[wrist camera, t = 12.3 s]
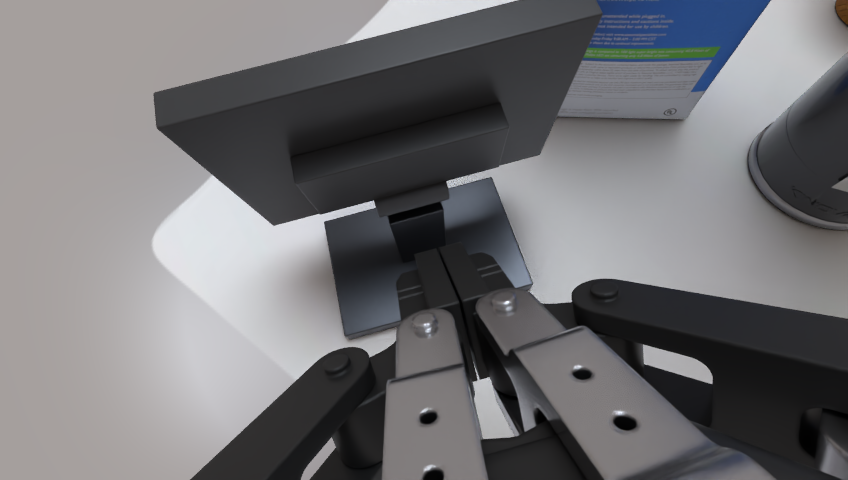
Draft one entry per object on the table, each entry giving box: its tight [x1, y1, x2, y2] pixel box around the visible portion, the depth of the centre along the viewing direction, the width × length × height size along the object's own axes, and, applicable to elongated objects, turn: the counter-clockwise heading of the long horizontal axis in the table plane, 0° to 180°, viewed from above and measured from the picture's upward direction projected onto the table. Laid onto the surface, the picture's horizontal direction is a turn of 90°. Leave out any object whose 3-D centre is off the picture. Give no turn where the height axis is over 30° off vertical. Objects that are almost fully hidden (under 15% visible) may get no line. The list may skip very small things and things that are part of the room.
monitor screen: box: [154, 0, 603, 226], centre depth 21 cm, size 4×17×11 cm, turn 104°
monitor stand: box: [324, 177, 533, 339], centre depth 27 cm, size 9×13×7 cm
